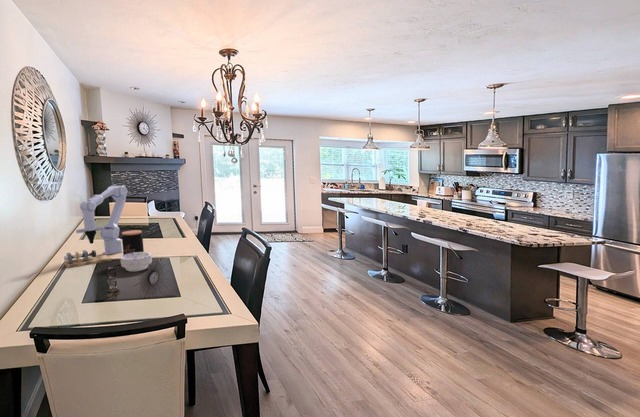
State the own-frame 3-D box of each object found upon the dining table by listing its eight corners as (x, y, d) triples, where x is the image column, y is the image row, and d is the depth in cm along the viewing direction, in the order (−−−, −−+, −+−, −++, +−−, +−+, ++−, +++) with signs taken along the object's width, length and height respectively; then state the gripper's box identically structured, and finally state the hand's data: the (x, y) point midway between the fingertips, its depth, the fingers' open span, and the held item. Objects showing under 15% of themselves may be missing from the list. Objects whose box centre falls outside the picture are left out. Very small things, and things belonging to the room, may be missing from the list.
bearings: (86, 258, 232) (85, 250, 232) (88, 260, 228) (87, 252, 227) (67, 261, 226) (66, 253, 226) (69, 263, 222) (68, 254, 221)
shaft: (95, 256, 234) (94, 249, 234) (96, 257, 231) (95, 250, 231) (64, 261, 224) (63, 254, 224) (65, 262, 221) (64, 255, 221)
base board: (106, 257, 242) (106, 254, 242) (111, 260, 233) (111, 258, 233) (64, 263, 228) (64, 261, 228) (67, 268, 219) (67, 265, 219)
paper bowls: (140, 274, 205) (139, 259, 204) (115, 272, 208) (113, 258, 207) (158, 266, 220) (157, 252, 219) (133, 265, 223) (132, 251, 222)
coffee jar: (120, 263, 226) (117, 232, 224) (136, 259, 235) (133, 229, 233) (132, 265, 221) (129, 234, 219) (148, 261, 230) (146, 230, 228)
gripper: (100, 218, 244) (102, 240, 246) (73, 221, 234) (76, 244, 236) (104, 220, 239) (106, 242, 241) (76, 223, 229) (79, 246, 231)
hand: (91, 243), depth 238 cm, fingers closed
